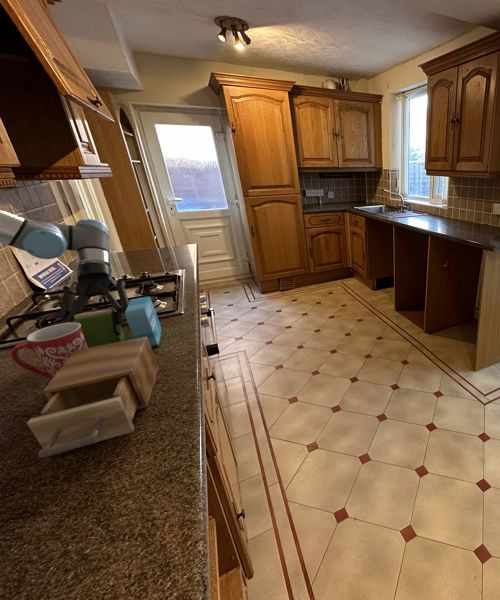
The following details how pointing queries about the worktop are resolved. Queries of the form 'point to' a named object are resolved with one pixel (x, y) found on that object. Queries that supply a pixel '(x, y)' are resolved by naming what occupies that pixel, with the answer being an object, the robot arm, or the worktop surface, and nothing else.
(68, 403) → the drawer
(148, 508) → the worktop surface
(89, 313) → the green block
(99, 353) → the cabinet
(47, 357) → the mug
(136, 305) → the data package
